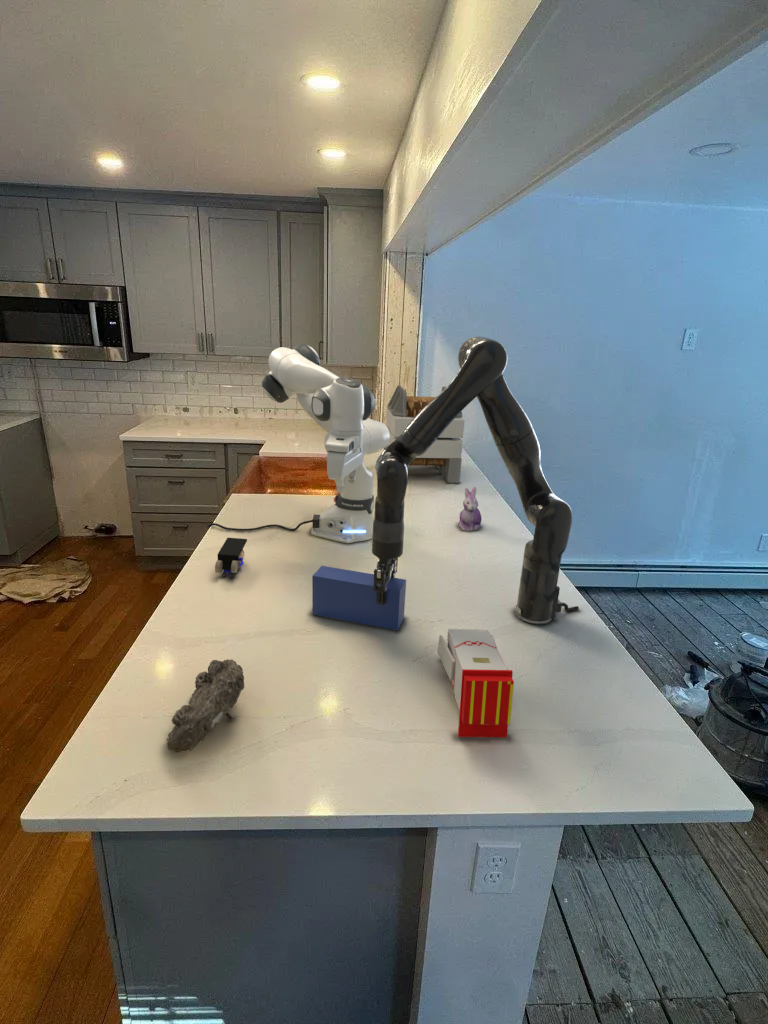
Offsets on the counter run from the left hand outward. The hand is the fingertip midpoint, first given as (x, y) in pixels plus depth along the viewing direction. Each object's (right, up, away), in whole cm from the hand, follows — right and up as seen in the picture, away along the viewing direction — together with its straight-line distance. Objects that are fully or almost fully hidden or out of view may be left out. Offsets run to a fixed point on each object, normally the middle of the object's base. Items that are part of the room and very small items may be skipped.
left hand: (346, 487), depth 160 cm
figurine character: (-34, -24, +7) cm, 42 cm away
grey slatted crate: (+28, +12, +115) cm, 118 cm away
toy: (+29, -45, -42) cm, 68 cm away
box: (+4, -34, -15) cm, 37 cm away
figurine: (+42, -13, +49) cm, 66 cm away
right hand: (+11, -28, -19) cm, 36 cm away
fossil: (-22, -46, -52) cm, 73 cm away
